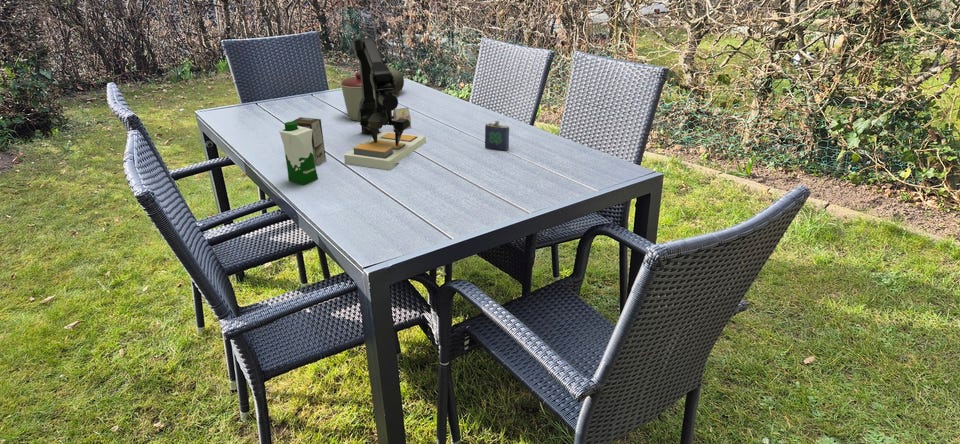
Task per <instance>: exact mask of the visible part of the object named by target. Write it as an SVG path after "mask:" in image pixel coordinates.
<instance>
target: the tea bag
mask: <svg viewBox="0 0 960 444" xmlns="http://www.w3.org/2000/svg"><path fill="white" fill-rule="evenodd" d="M392 113H393V114H392V116H394V119H392V120H394V121H396V120H398V119H400V118H402V119H408V120H409V121H410V126H409V127H408V128H406V129H405V130H408V129H409V130H410V129H412V121H411V120H412V118H411V112H410V110H409V107H408V106H407V107H406V106H405V107H399V108H396V109H394V110H393V112H392ZM392 127H393V130H394V129H395V128H394V126H392Z"/></svg>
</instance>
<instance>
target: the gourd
mask: <svg viewBox="0 0 960 444" xmlns="http://www.w3.org/2000/svg"><path fill="white" fill-rule="evenodd" d="M387 67H388V68H389V70H390V72H391V73H392V75H393V77H394V80H395V83H396V87H395V88H396V90H392V94H393V95H394V96H396V95H397V94H399V93H400V92H401V91H402V90H403V88H404V85H405V80H404V79H405V78H404V75H403V73H402V72H401V71H400V70H398V69H397V68H391V67H390V66H387ZM357 72H360V69H359V70H358V71H357ZM390 85H391V83H390ZM390 85H385V86H390Z"/></svg>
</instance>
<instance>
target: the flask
mask: <svg viewBox="0 0 960 444" xmlns="http://www.w3.org/2000/svg"><path fill="white" fill-rule="evenodd" d="M499 123H500V120H495V121H494V123H492V122H489V123H485V127H484V128H485V129H484V148H485V149H488V150H491V151H493V150H494V151H503V152H508V151H509V149H510V126H509V125H500V124H499Z"/></svg>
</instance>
